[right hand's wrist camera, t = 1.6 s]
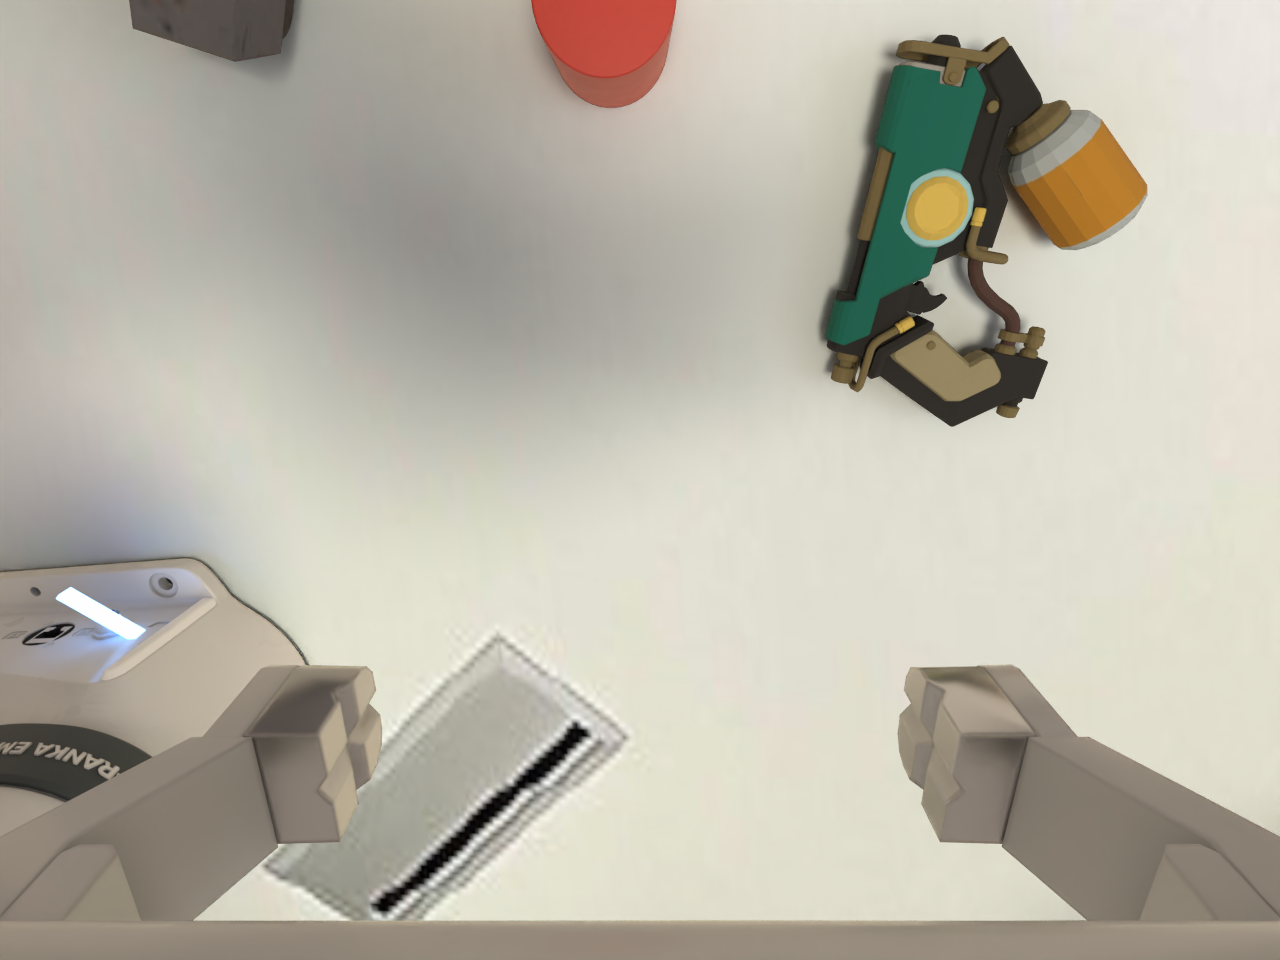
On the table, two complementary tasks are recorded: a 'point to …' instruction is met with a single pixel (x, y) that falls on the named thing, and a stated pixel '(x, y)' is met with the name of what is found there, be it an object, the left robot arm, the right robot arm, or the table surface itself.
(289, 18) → the toy
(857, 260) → the spray gun
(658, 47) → the canister
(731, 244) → the table surface
